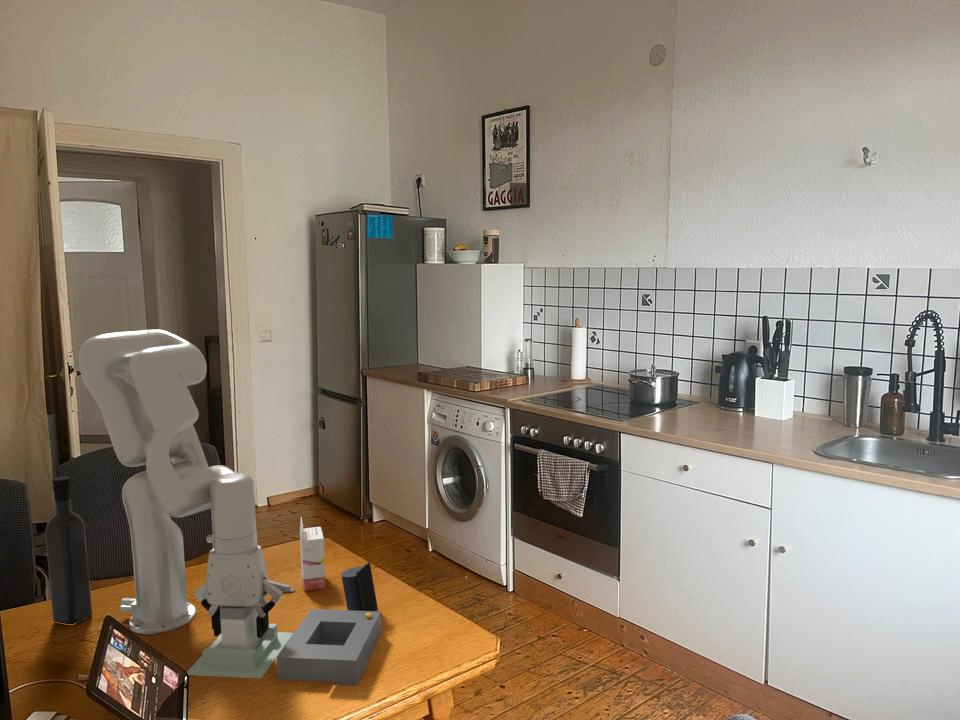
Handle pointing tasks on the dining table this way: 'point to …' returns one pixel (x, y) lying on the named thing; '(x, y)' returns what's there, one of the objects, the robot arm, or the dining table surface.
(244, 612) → the plug
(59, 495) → the wine bottle
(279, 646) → the pale green cradle tray
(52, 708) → the dining table surface
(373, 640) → the block
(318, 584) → the ink cartridge box
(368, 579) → the speaker
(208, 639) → the dining table surface
